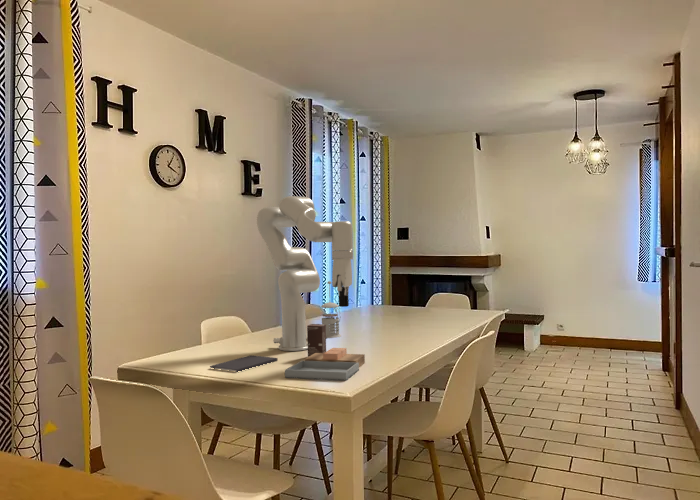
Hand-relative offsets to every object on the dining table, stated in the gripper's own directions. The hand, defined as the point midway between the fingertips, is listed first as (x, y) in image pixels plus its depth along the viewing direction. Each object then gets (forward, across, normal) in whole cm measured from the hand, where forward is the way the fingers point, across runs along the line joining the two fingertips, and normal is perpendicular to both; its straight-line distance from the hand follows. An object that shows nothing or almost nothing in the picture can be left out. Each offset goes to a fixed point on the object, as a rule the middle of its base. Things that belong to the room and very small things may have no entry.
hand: (343, 306), depth 204 cm
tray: (+19, +24, 0) cm, 31 cm away
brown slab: (+19, +11, 0) cm, 22 cm away
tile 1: (+16, +14, 0) cm, 21 cm away
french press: (+19, -49, -21) cm, 57 cm away
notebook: (+20, +16, -32) cm, 41 cm away
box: (+19, -1, -11) cm, 22 cm away
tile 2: (+16, +8, 0) cm, 18 cm away
